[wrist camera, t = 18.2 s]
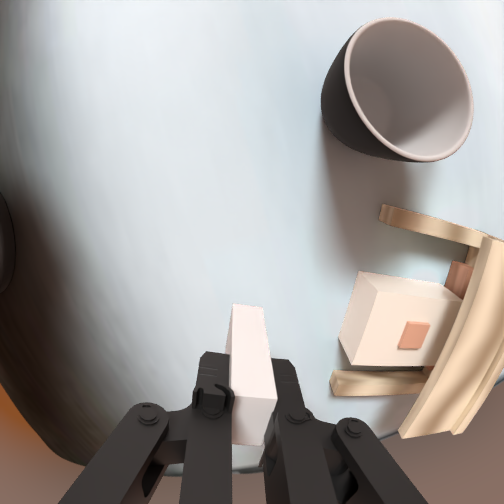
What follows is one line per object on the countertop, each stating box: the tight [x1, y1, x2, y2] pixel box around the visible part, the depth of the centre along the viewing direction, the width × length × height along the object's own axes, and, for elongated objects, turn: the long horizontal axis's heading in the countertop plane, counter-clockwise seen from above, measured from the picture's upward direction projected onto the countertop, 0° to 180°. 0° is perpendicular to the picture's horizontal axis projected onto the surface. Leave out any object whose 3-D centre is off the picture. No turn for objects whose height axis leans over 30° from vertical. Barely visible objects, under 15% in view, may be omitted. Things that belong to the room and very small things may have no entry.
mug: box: [321, 17, 473, 162], centre depth 17 cm, size 12×9×10 cm
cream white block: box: [338, 271, 463, 366], centre depth 25 cm, size 10×7×6 cm
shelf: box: [329, 204, 504, 439], centre depth 23 cm, size 14×19×10 cm
